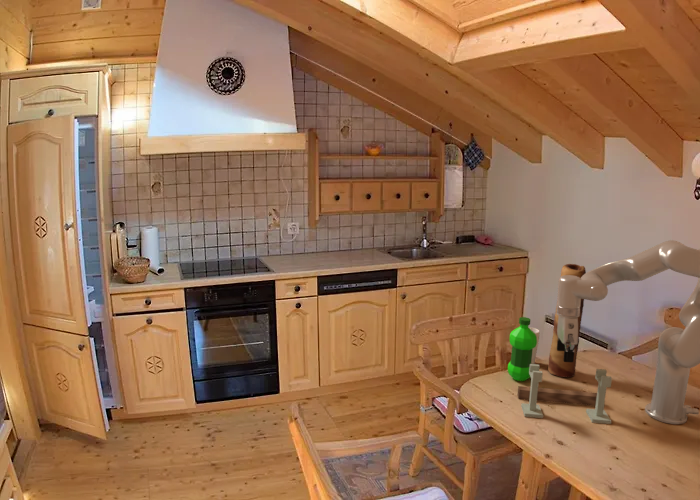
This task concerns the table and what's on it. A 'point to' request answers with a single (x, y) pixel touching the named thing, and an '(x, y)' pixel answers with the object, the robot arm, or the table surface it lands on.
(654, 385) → the robot arm
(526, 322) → the plastic bottle
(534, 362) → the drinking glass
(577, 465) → the table surface
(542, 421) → the table surface
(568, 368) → the wafer roll
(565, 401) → the walnut rail
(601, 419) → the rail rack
